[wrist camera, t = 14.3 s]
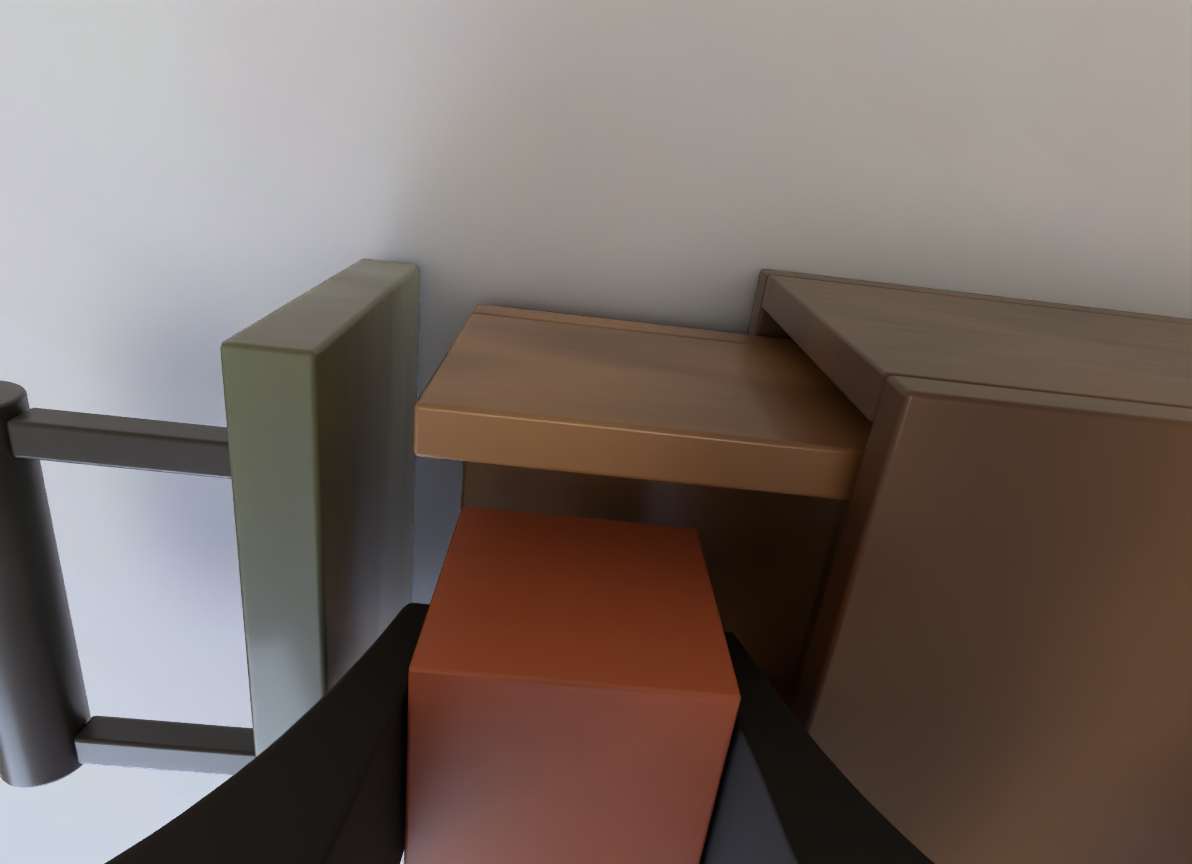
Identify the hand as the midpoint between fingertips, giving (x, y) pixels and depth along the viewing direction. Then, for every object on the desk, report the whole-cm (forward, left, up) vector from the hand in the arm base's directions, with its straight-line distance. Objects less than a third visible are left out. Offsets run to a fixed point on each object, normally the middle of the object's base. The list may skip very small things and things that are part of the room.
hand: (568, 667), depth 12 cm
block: (0, 0, -1) cm, 1 cm away
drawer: (-1, +1, -6) cm, 6 cm away
